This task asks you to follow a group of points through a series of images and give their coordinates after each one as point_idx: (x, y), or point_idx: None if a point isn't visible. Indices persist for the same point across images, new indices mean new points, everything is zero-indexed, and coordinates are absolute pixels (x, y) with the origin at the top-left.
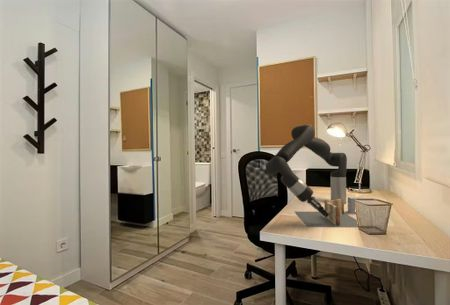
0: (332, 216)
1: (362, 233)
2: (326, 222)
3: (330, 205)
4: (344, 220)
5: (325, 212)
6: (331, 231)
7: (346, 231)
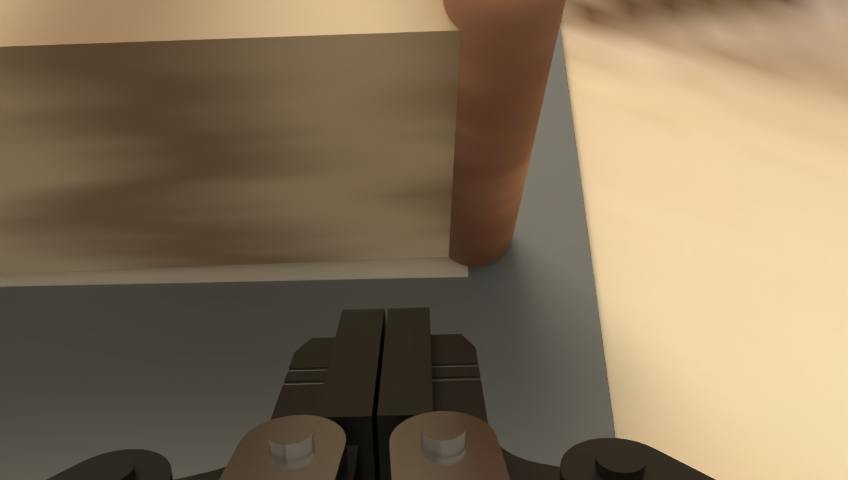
0: (264, 215)
1: (774, 48)
2: None
3: (57, 66)
4: None
5: (482, 396)
6: (810, 475)
7: (739, 218)
